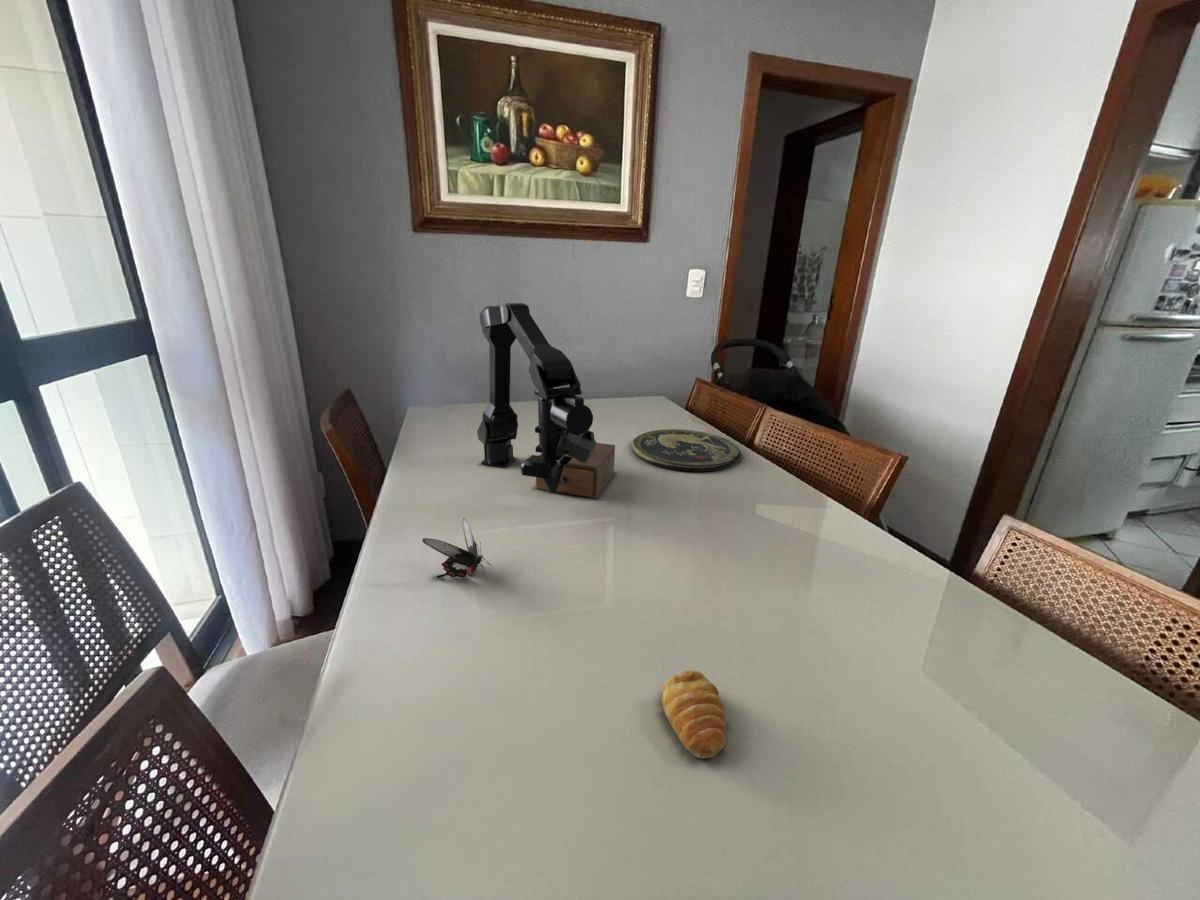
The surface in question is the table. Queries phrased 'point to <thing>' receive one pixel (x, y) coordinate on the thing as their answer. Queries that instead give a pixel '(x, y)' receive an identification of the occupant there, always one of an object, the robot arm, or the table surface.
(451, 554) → the butterfly
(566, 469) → the drawer
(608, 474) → the cabinet
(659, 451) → the decorative plate
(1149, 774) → the table surface
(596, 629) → the table surface
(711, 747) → the pastry
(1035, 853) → the table surface
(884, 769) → the table surface
